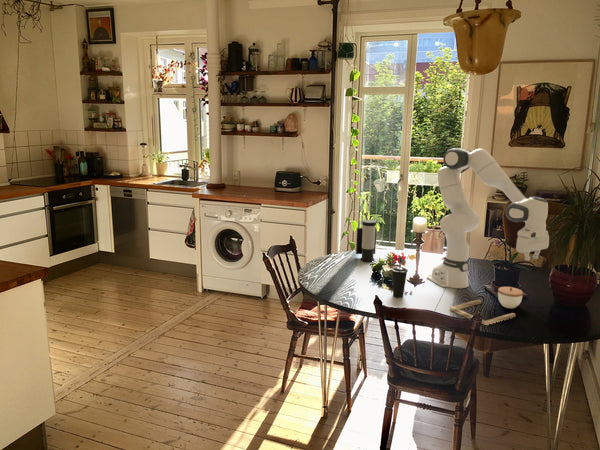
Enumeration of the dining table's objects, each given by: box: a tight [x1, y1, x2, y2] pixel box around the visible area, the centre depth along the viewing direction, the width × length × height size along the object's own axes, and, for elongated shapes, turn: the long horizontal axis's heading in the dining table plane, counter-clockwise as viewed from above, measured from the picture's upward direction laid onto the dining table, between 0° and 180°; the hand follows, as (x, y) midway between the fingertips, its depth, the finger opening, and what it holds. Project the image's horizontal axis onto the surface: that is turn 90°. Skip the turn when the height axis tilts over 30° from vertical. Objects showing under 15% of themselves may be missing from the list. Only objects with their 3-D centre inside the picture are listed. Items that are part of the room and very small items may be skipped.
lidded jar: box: [497, 286, 524, 309], centre depth 231 cm, size 11×11×9 cm
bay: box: [449, 299, 517, 326], centre depth 223 cm, size 20×20×2 cm
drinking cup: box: [391, 256, 408, 299], centre depth 240 cm, size 8×8×20 cm
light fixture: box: [355, 219, 377, 263], centre depth 299 cm, size 12×11×25 cm
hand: (531, 259), depth 234 cm, fingers open, 5 cm apart
